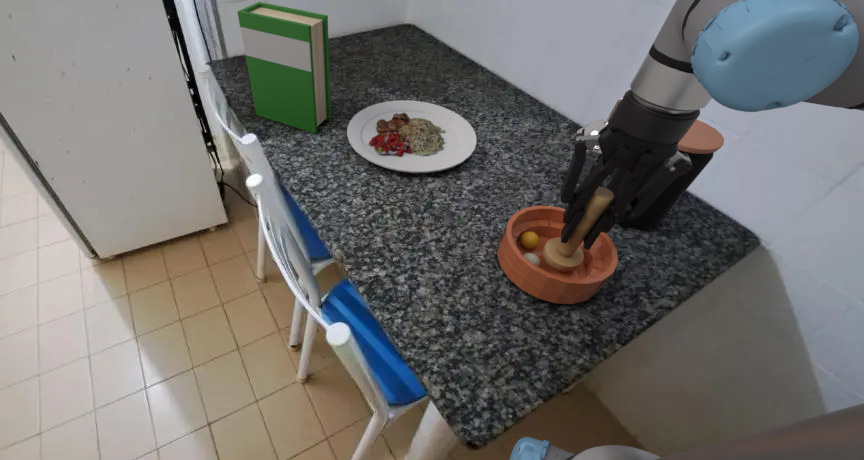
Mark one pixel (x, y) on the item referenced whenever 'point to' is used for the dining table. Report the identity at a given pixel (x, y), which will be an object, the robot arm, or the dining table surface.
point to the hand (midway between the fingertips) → (575, 239)
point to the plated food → (411, 136)
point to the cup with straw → (596, 153)
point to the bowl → (545, 278)
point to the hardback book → (287, 64)
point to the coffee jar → (700, 150)
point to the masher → (577, 234)
